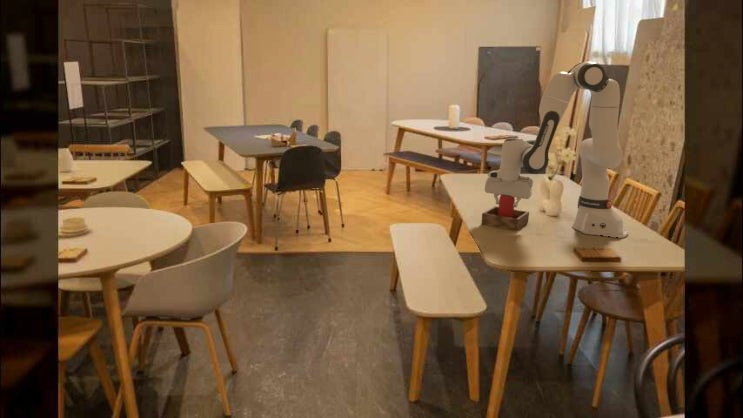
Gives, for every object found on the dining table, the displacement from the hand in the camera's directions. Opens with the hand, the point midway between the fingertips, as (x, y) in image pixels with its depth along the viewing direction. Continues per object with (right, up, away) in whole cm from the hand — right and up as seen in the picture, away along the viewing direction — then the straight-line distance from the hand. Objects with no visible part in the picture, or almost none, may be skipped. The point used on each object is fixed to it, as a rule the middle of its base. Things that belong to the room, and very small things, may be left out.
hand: (506, 205), depth 251 cm
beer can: (0, -7, +2) cm, 7 cm away
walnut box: (0, -8, +2) cm, 8 cm away
